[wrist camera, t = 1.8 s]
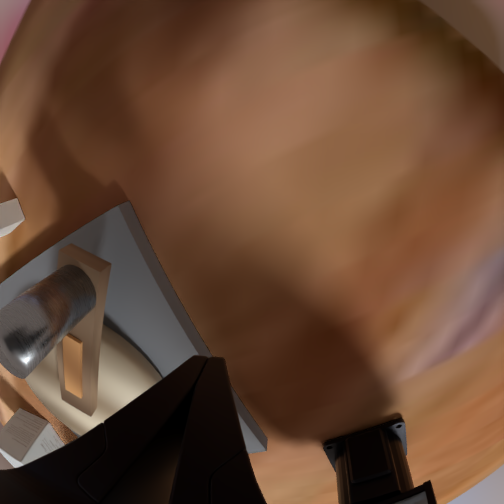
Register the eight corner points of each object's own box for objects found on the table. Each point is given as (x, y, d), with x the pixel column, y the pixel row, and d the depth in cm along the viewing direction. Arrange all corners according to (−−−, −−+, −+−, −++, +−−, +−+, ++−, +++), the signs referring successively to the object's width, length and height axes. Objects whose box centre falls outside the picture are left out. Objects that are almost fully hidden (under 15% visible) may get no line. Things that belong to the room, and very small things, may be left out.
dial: (160, 458, 20) (135, 527, 13) (34, 390, 19) (-7, 442, 12) (228, 296, 14) (182, 425, 7) (24, 201, 13) (-77, 241, 6)
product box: (70, 450, 26) (47, 489, 19) (39, 435, 26) (15, 469, 19) (49, 420, 24) (20, 462, 17) (18, 405, 24) (-10, 441, 17)
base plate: (267, 438, 19) (265, 464, 17) (99, 445, 23) (90, 462, 21) (99, 128, 13) (70, 127, 11) (-32, 252, 17) (-50, 262, 15)
